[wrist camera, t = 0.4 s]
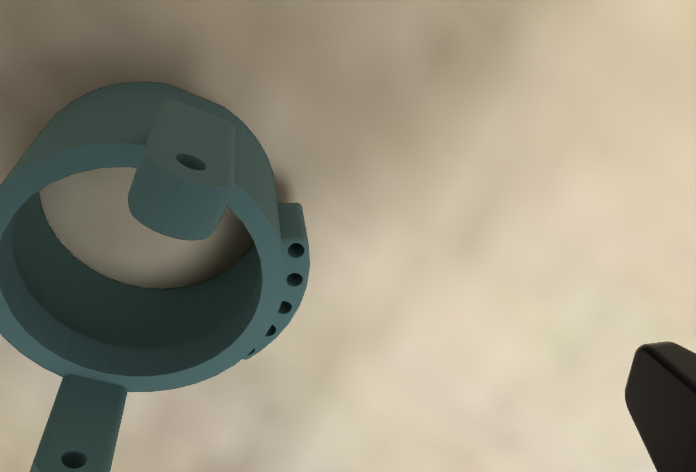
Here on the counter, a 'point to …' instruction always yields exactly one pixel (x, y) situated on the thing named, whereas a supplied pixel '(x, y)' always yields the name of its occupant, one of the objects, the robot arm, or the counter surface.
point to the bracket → (132, 301)
